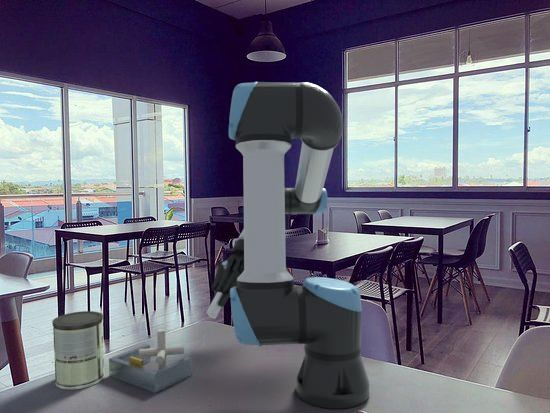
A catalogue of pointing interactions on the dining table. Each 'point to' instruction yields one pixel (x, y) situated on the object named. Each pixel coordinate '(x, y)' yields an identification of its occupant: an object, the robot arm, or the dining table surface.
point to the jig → (147, 371)
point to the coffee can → (78, 349)
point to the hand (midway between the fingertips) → (210, 315)
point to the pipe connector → (161, 350)
